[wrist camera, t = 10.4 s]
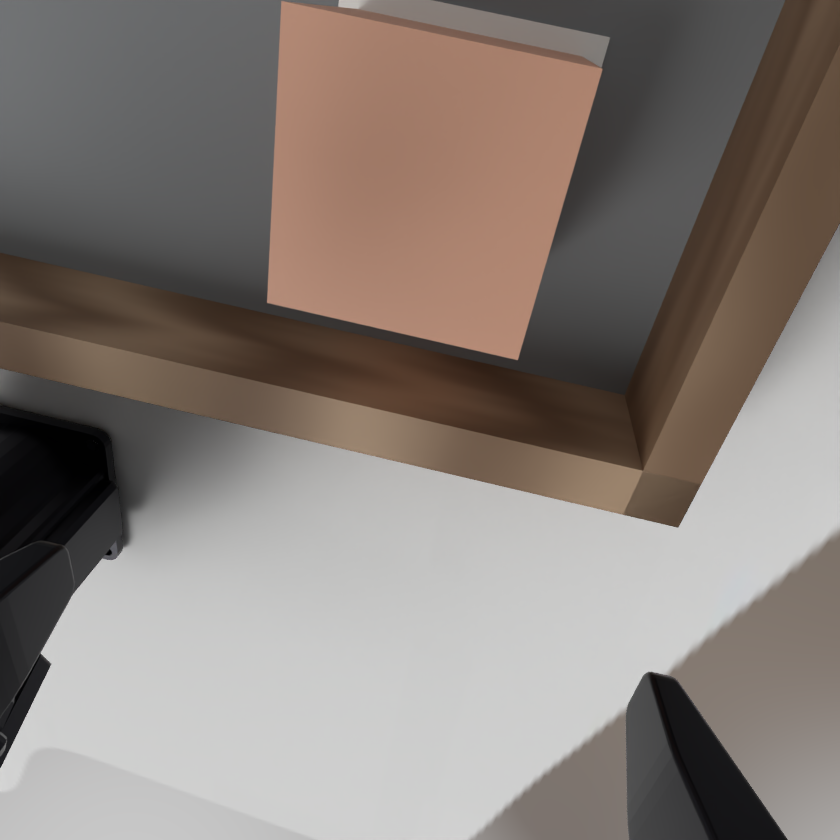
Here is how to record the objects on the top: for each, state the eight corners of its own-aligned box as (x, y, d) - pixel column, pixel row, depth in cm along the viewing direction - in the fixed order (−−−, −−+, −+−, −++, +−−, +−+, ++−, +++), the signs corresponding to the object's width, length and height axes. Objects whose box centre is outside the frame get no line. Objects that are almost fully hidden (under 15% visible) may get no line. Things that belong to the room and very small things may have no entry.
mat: (-48, 278, 22) (-57, 282, 21) (-310, -836, 11) (-338, -867, 10) (652, 440, 21) (655, 446, 20) (1126, -597, 10) (1146, -619, 10)
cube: (334, 233, 18) (267, 302, 14) (357, 8, 15) (280, 0, 11) (522, 275, 18) (517, 359, 14) (581, 56, 15) (602, 69, 11)
